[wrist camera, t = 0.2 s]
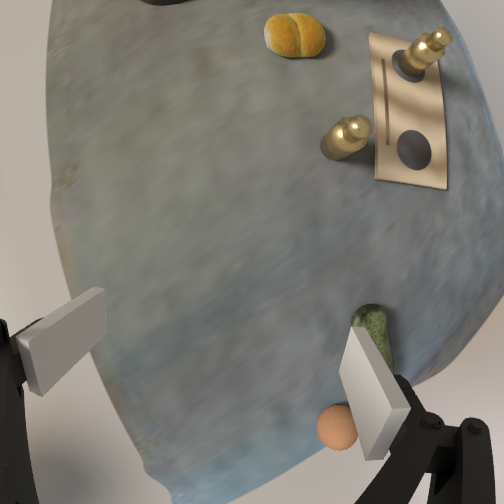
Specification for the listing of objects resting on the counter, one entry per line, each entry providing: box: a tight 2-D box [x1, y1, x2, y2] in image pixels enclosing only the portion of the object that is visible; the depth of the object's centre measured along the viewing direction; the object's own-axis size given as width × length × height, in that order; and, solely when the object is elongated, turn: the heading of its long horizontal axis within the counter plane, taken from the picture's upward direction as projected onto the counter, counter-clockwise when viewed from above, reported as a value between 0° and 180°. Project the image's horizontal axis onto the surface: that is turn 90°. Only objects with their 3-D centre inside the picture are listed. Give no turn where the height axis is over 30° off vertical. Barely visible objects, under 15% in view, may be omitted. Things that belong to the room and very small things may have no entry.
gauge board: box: [368, 32, 447, 189], centre depth 38 cm, size 24×12×1 cm, turn 177°
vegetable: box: [351, 304, 394, 375], centre depth 41 cm, size 14×5×5 cm, turn 19°
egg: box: [316, 405, 358, 451], centre depth 41 cm, size 7×7×9 cm
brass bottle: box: [321, 115, 373, 161], centre depth 34 cm, size 4×4×12 cm
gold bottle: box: [398, 27, 453, 77], centre depth 31 cm, size 4×4×12 cm
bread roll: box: [264, 13, 326, 57], centre depth 36 cm, size 8×9×4 cm
